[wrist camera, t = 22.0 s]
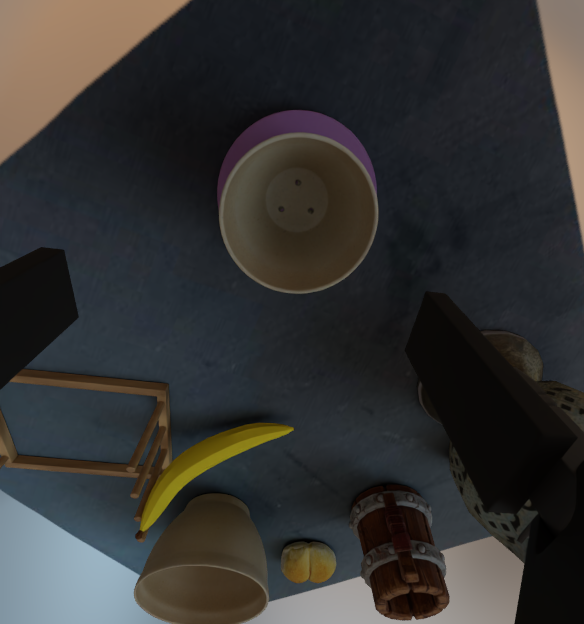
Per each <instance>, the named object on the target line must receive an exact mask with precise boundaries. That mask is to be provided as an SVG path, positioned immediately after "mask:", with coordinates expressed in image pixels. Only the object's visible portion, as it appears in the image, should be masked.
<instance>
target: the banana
mask: <svg viewBox="0 0 584 624" xmlns="http://www.w3.org/2000/svg"><path fill="white" fill-rule="evenodd" d="M293 430H294V428H293V427H289V426H287V425H283V424H275V423H254V424H246V425H243V426H240V427H236V428H233V429H230V430H227V431H224V432H221V433H219V434H216V435H214V436H212V437H209V438H207V439H205V440H203V441H201V442H199V443H197V444H196V445H194V446H192V447H191V448H189V449H188V450H186V451H185V452H183V453H182V454H181V455H179V456H178V457H177V458H176V459H175V460H173V461H172V462H171V464H170V465H169V466H168V467H167V468H166V469H165V470H164V471H163V473H162V474H161V475H160V477H159V478H158V480H157V481H156V483H155V485H154V487H153V489H152V490H151V493H150V495H149V497H148V500H147V502H146V505H145V508H144V511H143V514H142V519H141V525H140V530H139V531H138V533H137V534H136V535H135V537H136V539H138V540H139V539H141V538H142V535H143V532H144V531H145V530H146V529H148V528H149V527H150V526H151V525H152V524H153V523H154V522H155V521H156V520H157V519H158V517H159V516H160V515H161V514H162V512H163V511H164V510H165V508H166V507H167V506H168V504H169V503H170V502H171V500H172V499H173V498H174V496H175V495H176V494H177V493H178V492H179V490H180V489H182V488H183V487H184V486H185V485H186V484H187V483H188V482H190V481H191V480H192V479H194V478H195V477H197V476H198V475H200V474H201V473H203V472H204V471H206V470H208V469H209V468H211V467H213V466H215V465H217V464H218V463H220V462H222V461H224V460H226V459H228V458H230V457H232V456H235V455H237V454H239V453H241V452H243V451H246V450H248V449H250V448H252V447H255V446H257V445H259V444H262V443H264V442H266V441H269V440H272V439H275V438H278V437H281V436H283V435H286V434H288V433H289V432H291V431H293Z"/></svg>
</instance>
